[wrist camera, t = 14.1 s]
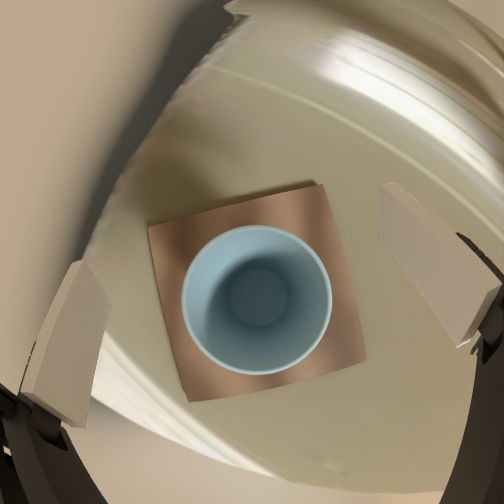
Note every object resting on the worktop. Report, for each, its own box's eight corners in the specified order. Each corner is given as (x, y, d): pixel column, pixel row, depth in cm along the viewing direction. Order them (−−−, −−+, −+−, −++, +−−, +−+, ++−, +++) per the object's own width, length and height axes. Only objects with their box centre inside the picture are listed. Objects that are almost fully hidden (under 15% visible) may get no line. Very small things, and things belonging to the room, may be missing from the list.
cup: (295, 346, 23) (319, 382, 13) (209, 333, 24) (172, 360, 13) (308, 260, 24) (339, 237, 14) (221, 248, 25) (193, 217, 14)
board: (320, 187, 26) (322, 184, 25) (363, 357, 24) (367, 360, 23) (151, 229, 26) (147, 227, 25) (191, 398, 24) (188, 402, 23)
